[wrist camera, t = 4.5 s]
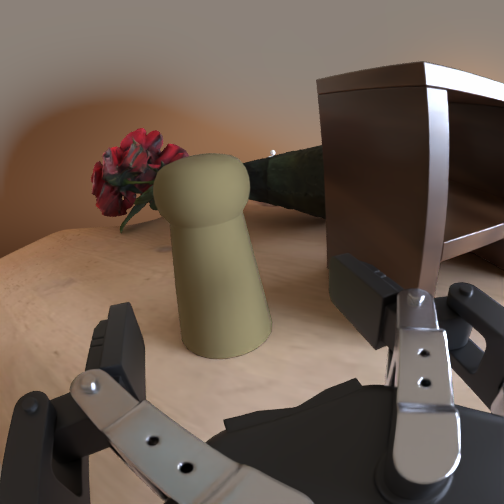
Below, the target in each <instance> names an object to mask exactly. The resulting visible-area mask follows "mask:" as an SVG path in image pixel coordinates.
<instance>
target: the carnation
mask: <svg viewBox="0 0 504 504" xmlns="http://www.w3.org/2000/svg"><path fill="white" fill-rule="evenodd" d="M162 145H163V136H162V135H161V134H160V132H158V131H156V130H155V131H152V132H150V133H149V134H148V135H146V131H145V129H143V128H140V129H137V130H136V131H134V132H131V133H129V134H128V135H127V136H126V137H125V138H124V139H123V140H122V142H121V146H120V148H119V147H113V148H108V150H107V151H105V153H104V154H103V165H102V164H101V162H100V161H99V162H97V163H96V164H95V166H94V169H93V174H92V177H91V182H92V183H93V187H92V194H93V195H95V196H96V198H97V199H96V201H97V203H96V206H97V207H98V208H99V209H100V211H101V212H102V214H103V215H104V216H110V217H111V216H112V217H116V216H121V215H125V214H127V212H126V210H127V209H129V208H131V207H132V205H133V204H136V205H135V206H134V207H133V208H132V210H131V212H130V213H129V215H128V216H127V218H126V219H125V220H124V222H123V223H122V224H121V226H120V233H122V231H123V228H124V226H125V225H126V223H127V222H128V221H129V220H130V218H132V216H134V215H135V214H136V213H138V212H139V211H140V210H141V209H142V208H143V207H144V206H145V205H146V203H148V202H149V203H150V207H151V208H152V209H153V210H158V209H157V207H156V205H155V200H154V196H153V186H154V181H155V178H156V175H157V173H158V171H159V170H160V169H161V168H162V167H164V166H166V165H168V164H170V163H172V162H174V161H176V160H179V159H182V158H185V157H188V156H189V155H188V153H187V152H186V151H185V150H184V149H182V148H180V147H179V146H177V145H174V144H168V145H167V147H166V148H164V150H163V151H162V152H161V151H160V148H161V146H162ZM242 164H243V165H244V166H245V167H246V170H247V173H248V175H249V181H250V192H249V199H250V200H255V201H259V202H264V203H269V204H272V205H275V206H281V207H284V208H287V209H295V210H298V211H300V212H304V213H307V214H309V215H312V216H315V217H320V218H323V219H326V207H325V184H324V166H323V151H322V145H320V146H316V147H312V148H307V149H303V150H298V151H291V152H286V153H284V154H279V155H273V156H272V157H267V158H264V159H260V160H259V159H258V160H254V161H250V162H246V163H242ZM136 193H140V194H141V196H139V197H138V198H136ZM122 196H124V200H122Z"/></svg>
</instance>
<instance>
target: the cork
mask: <svg viewBox="0 0 504 504" xmlns="http://www.w3.org/2000/svg"><path fill="white" fill-rule="evenodd" d="M249 192H250V181H249V175H248V173H247V170H246V167H245V166H244V165H243V164H242V162H241V161H240V160H239V159H238V158H236V157H234V156H231V155H225V154H210V153H209V154H199V155H193V156H188V157H185V158H182V159H179V160H176V161H174V162H172V163H170V164H168V165H166V166H164V167H162V168H161V169H160V170H159V171H158V173H157V175H156V178H155V181H154V186H153V196H154V200H155V205H156V207H157V209H158V211H159V213H160V215H161V216H162V217H163V218H165V219H166V220H167V221H168V222H169V223H170V231H171V244H172V255H173V266H174V276H175V286H176V295H177V304H178V312H179V321H180V328H181V336H182V341H183V343H184V344H185V346H186V347H187V349H189V350H190V351H192V352H193V353H195V354H196V355H199V356H203V357H206V358H210V359H227V358H232V357H237V356H241V355H244V354H246V353H248V352H250V351H252V350H255V349H256V348H257V347H259V346H260V345H261V344H262V343H263V342H265V341H266V339H267V338H268V336H269V334H270V333H271V330H272V320H271V316H270V312H269V309H268V305H267V301H266V297H265V293H264V290H263V286H262V282H261V278H260V275H259V271H258V267H257V263H256V260H255V256H254V252H253V248H252V245H251V241H250V237H249V233H248V230H247V226H246V222H245V218H244V214H243V209H244V207H245V205H246V203H247V201H248V199H249Z"/></svg>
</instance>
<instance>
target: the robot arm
mask: <svg viewBox="0 0 504 504" xmlns="http://www.w3.org/2000/svg"><path fill="white" fill-rule="evenodd" d="M329 294H330V298H331V301H332V302H333V304H334V305H335V306H336V307H337V308H338V309H339V311H340V312H341V313H342V314H343V315H344V316H345V317H346V318H347V319H348V320H349V321H350V323H351V324H352V325H353V326H354V327H355V328H356V329H357V330H358V331H359V332H360V333H361V335H362V336H363V337H364V338H365V339H366V340H367V341H368V342H369V343H370V344H371V346H372V347H373V348H374V349H375V350H377V349H380V348H382V347H384V346H388V347H389V349H388V354H387V365H386V376H385V385H365V386H362V385H361V384H360V383H359V381H358V380H357V379H356V378H354V379H351V380H349V381H346V382H344V383H341V384H339V385H336V386H333V387H331V388H328V389H326V390H324V391H322V392H321V393H319V394H318V395H316V396H314V397H313V398H311V399H309V400H308V401H306V402H304V403H303V404H301V405H299V406H297V407H293V408H285V409H275V410H263V411H256V412H252V413H249V414H245V415H241V416H237V417H233V418H229V419H225V420H223V421H224V424H225V428H226V430H224V431H222V432H220V433H218V434H217V435H215V436H213V437H212V438H211V439H209V440H208V441H207V442H206V443H205V442H203V441H202V440H200V439H199V438H197V437H196V436H194V435H193V434H191V433H190V432H189V431H187V430H186V429H184V428H183V427H181V426H180V425H179V424H177V423H176V422H175V421H173V420H172V419H171V418H169V417H168V416H167V415H165V414H164V413H163V412H161V411H160V410H159V409H158V408H156V407H155V406H154V405H152V404H151V403H150V402H149V401H147V400H146V387H145V345H144V340H143V337H142V334H141V331H140V328H139V326H138V323H137V320H136V317H135V314H134V312H133V309H132V306H131V304H130V303H129V302H126V303H121V304H116V305H111V306H110V310H109V315H108V319H107V320H102V321H100V322H99V324H98V325H97V326H96V328H95V329H94V332H93V336H92V340H91V345H90V347H91V348H90V349H89V354H88V358H87V363H86V368H85V372H83V373H81V374H79V375H78V376H77V377H76V378H75V379H74V380H73V382H72V383H71V386H70V392H69V393H67V394H65V395H62V396H60V397H57V398H55V399H52V400H49V398H48V397H47V395H46V394H45V393H43V392H41V391H33V392H29V393H27V394H25V395H24V396H22V397H21V398H20V399H19V400H18V402H17V403H16V405H15V408H14V411H13V415H12V420H11V424H10V428H9V433H8V438H7V443H6V448H5V453H4V459H3V465H2V471H1V478H0V504H90V488H89V455H90V454H93V453H95V452H98V451H101V450H103V449H106V448H108V447H109V448H110V449H111V450H112V451H113V452H114V453H115V454H116V455H117V456H118V457H119V458H120V459H121V460H122V461H123V462H124V463H125V464H126V465H127V466H128V467H129V468H130V469H131V470H132V471H133V472H134V473H135V474H136V475H137V476H138V477H139V478H140V479H141V480H142V481H143V482H144V483H145V484H146V485H147V486H148V487H149V488H150V489H151V490H152V491H153V492H154V493H155V494H156V495H157V496H159V497H160V498H161V499H162V500H163V501H164V502H165V503H164V504H504V307H503V306H502V305H500V304H499V303H498V302H496V301H495V300H493V299H492V298H491V297H489V296H488V295H487V294H485V293H484V292H483V291H481V290H480V289H478V288H477V287H475V286H474V285H471V284H468V283H463V282H459V283H454V284H452V285H451V286H450V288H449V292H448V296H446V297H439V298H433V296H432V295H431V294H430V293H428V292H427V291H425V290H422V289H417V288H408V289H404V288H402V287H401V286H400V285H398V284H397V283H396V282H394V281H393V280H392V279H390V278H389V277H388V276H387V277H386V275H385V274H384V273H382V272H380V270H378V269H377V268H376V267H374V266H373V265H371V264H368V263H365V262H363V261H359V260H358V259H356V258H355V257H354V256H352V255H351V254H349V253H344V254H340V255H336V256H332V257H330V260H329ZM472 327H473V328H474V329H476V330H477V331H478V332H479V333H480V334H481V335H482V336H483V337H484V338H485V340H486V350H485V352H484V351H482V350H481V349H480V348H479V347H478V346H477V345H476V344H475V343H474V342H473V341H472V340H471V339H469V336H470V333H471V330H472ZM451 368H452V369H453V370H454V371H455V372H456V373H457V374H458V375H459V376H460V377H461V378H462V379H463V381H464V382H465V383H466V384H467V385H468V386H469V387H470V388H471V389H472V390H473V391H474V393H475V394H476V395H477V396H478V397H479V398H480V399H481V400H482V401H483V403H484V404H485V405H486V406H487V407H488V408H489V409H490V410H491V413H487V412H483V411H479V410H475V409H471V408H467V407H463V406H459V405H455V404H454V396H453V385H452V375H451Z"/></svg>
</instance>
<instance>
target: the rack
mask: <svg viewBox="0 0 504 504" xmlns="http://www.w3.org/2000/svg"><path fill="white" fill-rule="evenodd" d="M316 83H317V93H318V103H319V114H320V124H321V137H322V151H323V166H324V184H325V207H326V241H327V269H329V260H330V257H332V256H336V255H340V254H344V253H349V254H351V255H352V256H354V257H355V258H356V259H358V260H359V261H363V262H365V263H368V264H371V265H373V266H374V267H376V268H377V269H378V270H380V272H382V273H384V274H385V275H386V277H387V276H388V277H389V278H390V279H392V280H393V281H394V282H396V283H397V284H398V285H400V286H401V287H402V288H404V289H408V288H417V289H422V290H425V291H427V292H428V293H430V294H431V295H432V296H433V298H434V295H435V290H436V284H437V279H438V273H439V267H440V262H442V261H445V260H448V259H451V258H453V257H456V256H459V255H462V254H464V253H467V252H470V251H471V252H473V253H475V254H476V255H478V256H480V257H482V258H484V259H485V260H487V261H489V262H491V263H492V264H494V265H496V266H498V267H499V268H501V269H503V270H504V84H503V83H501V82H498V81H495V80H492V79H489V78H486V77H482V76H479V75H476V74H472V73H469V72H465V71H462V70H458V69H455V68H450V67H447V66H443V65H438V64H434V63H429V62H425V61H420V62H411V63H403V64H396V65H389V66H382V67H376V68H370V69H365V70H359V71H354V72H349V73H344V74H339V75H334V76H330V77H325V78H321V79H317V80H316Z"/></svg>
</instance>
